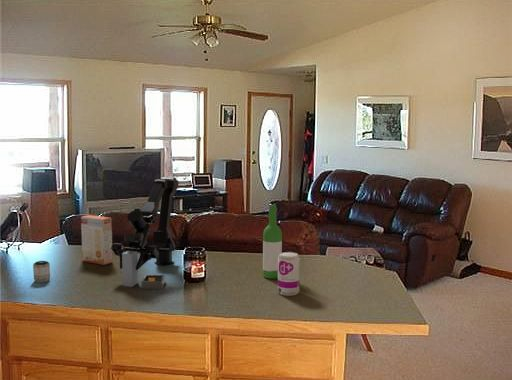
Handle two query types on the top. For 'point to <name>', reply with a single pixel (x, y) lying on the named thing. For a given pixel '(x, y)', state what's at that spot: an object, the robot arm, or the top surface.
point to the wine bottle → (271, 246)
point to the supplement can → (288, 273)
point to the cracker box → (96, 239)
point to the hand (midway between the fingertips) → (128, 269)
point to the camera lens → (41, 271)
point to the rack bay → (153, 282)
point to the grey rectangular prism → (129, 268)
